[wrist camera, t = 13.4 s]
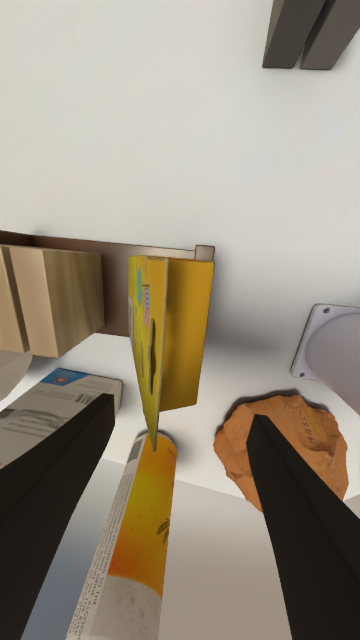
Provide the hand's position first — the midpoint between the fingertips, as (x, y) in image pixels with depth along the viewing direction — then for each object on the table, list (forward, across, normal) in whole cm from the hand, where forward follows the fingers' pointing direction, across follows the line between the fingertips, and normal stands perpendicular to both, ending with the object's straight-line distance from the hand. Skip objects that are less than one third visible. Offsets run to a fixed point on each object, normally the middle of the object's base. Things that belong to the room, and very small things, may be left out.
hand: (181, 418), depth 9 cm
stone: (+12, -12, +14) cm, 21 cm away
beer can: (+11, +3, +17) cm, 20 cm away
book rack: (+10, +8, -4) cm, 14 cm away
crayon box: (+9, +4, -4) cm, 11 cm away
